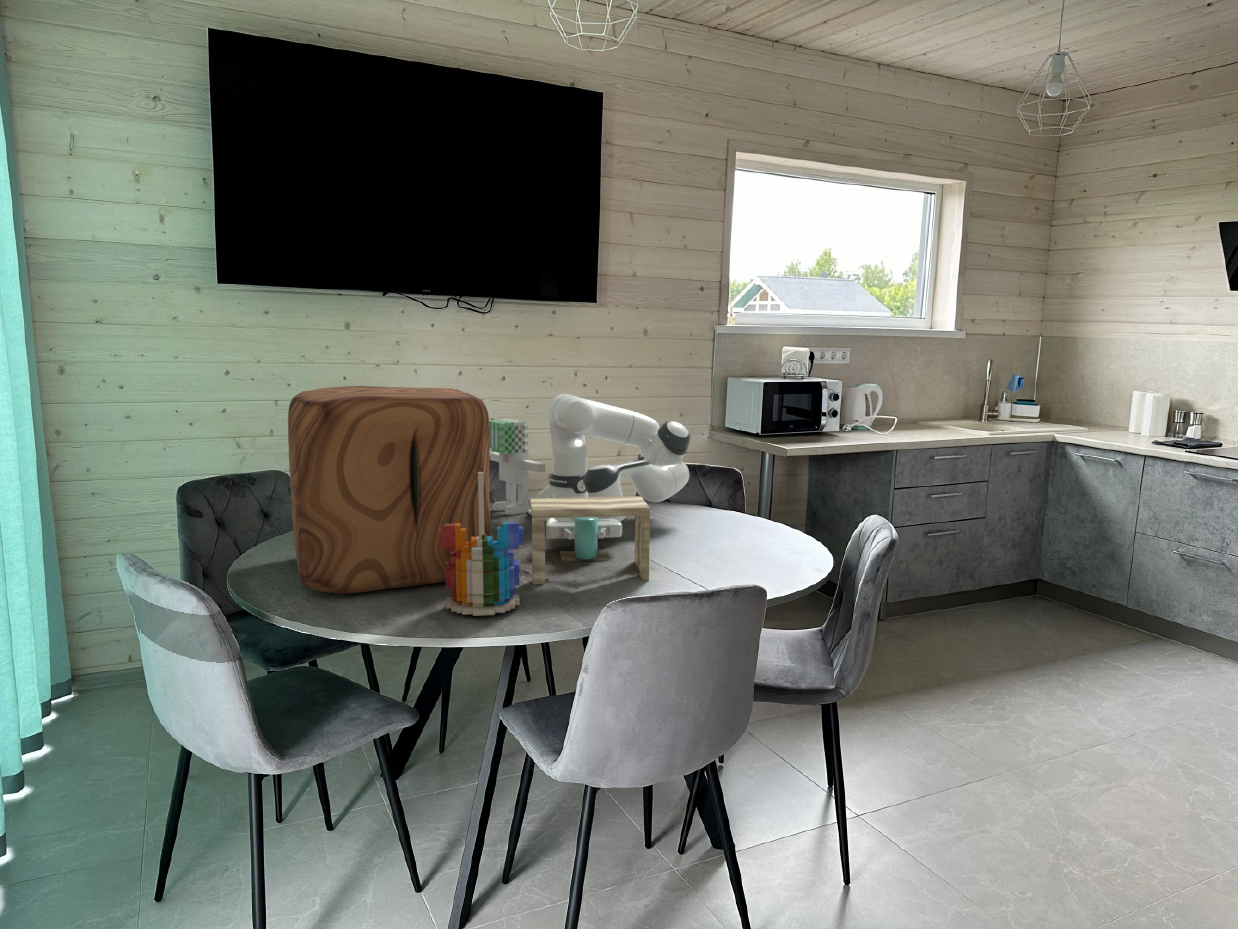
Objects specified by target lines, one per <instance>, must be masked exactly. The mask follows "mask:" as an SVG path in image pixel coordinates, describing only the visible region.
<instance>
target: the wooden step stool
mask: <svg viewBox="0 0 1238 929" xmlns="http://www.w3.org/2000/svg"><path fill="white" fill-rule="evenodd" d="M529 501H530V509H531V514H532V515H531V514H530V515H531V575H532V576H531V578H532V579H531V582H532V583H531V584H532V585H545V584H546V521H545V518H572V517H620V516H628V517H634V563H635V565H636V567H637V569H638V571H637V573H638V572H639V573H638V574H640V575H639V576H640V578H641V580H642V581H643V582H646V581H647V582H648V581H650V538H651V536H650V534H651V532H650V531H651V530H650V528H651V527H650V526H651V525H650V524H651V521H650V520H651V517H650V516H651V508H650V505H648V504H647V502H646V501H645V499H644V498H643V497H642V496H640V495H639V496H623V497H572V498H536V497H531V498H530V499H529Z"/></svg>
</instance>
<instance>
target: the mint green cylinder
mask: <svg viewBox="0 0 1238 929" xmlns="http://www.w3.org/2000/svg"><path fill="white" fill-rule="evenodd" d="M574 533H575V536H574V537H575V539H573V541H574V543H573V545H574V550H573V551H574V556H575V557H576V558H579V559H593V558H596V557H597V556H598V550H599V549H598V543H599V542H598V540H599V539H598V518H597V517H575V518H574Z"/></svg>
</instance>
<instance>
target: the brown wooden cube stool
mask: <svg viewBox="0 0 1238 929" xmlns="http://www.w3.org/2000/svg"><path fill="white" fill-rule="evenodd" d="M489 420H490V418H489V412H488V409H487V407H486V405H485V402H484V401H483V400H482V399H480V398H479V397H477V396H475V395H473V394H472V393H470V392H469V393H468V392H464V391H462V390H460V389H458V388H450V387H449V388H448V387H409V386H408V387H401V386H400V387H398V386H397V387H395V386H394V387H391V386H390V387H389V386H372V385H371V386H369V385H348V386H347V385H346V386H334V387H333V386H332V387H322V388H317V389H310V390H305V391H301V392H298V394H296V395H295V396H293V397H292V398H291V400H290V402H289V406H288V415H287V437H288V438H287V440H288V441H287V442H288V443H287V445H288V461H289V462H288V464H289V466H288V467H289V482H290V483H289V484H290V499H291V500H290V501H291V504H290V505H291V517H292V518H291V519H292V531H293V540H294V541H293V543H294V550H295V558H296V564H297V570H298V575H299V579H300V580H299V581H300V582H301V584H302V586H303V587H304V588H306V589H310V590H313V591H316V592H322V593H328V594H329V593H330V594H339V595H341V594H342V595H343V594H344V595H346V594H348V595H349V594H358V593H367V592H374V591H380V590H391V589H397V588H398V589H400V588H409V587H415V586H423V585H424V586H425V585H431V584H433V585H434V584H441V583H446V574H445V567H446V563H448V562H451V560H450V557H451V552H456V551H447V552H445V546H444V547H440V542H439V529H444V525H445V524H449V523H461V528H466V542H471V537H478V536H479V499H478V472H483V481H484V535H485V536H491V499H490V461H491V460H490V453H491V448H490V444H489Z"/></svg>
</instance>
